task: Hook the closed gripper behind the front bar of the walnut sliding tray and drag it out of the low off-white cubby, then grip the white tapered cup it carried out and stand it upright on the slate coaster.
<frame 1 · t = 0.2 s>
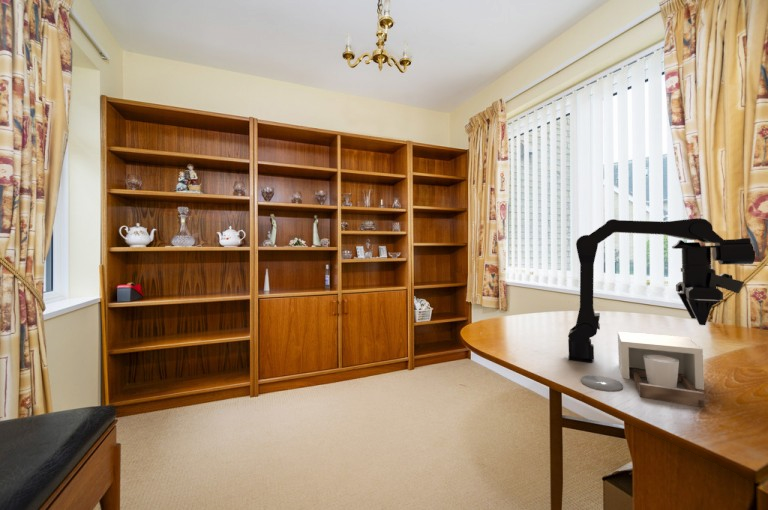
hand: (698, 321, 87), 14 cm above the table, tool pointing down, fingers open, 9 cm apart
cubby: (656, 375, 87), on the table
coaster: (601, 384, 83), on the table
white tapered cup: (661, 385, 81), resting in tray
tray: (663, 382, 79), point 2 cm above the table, slide at 6.0 cm
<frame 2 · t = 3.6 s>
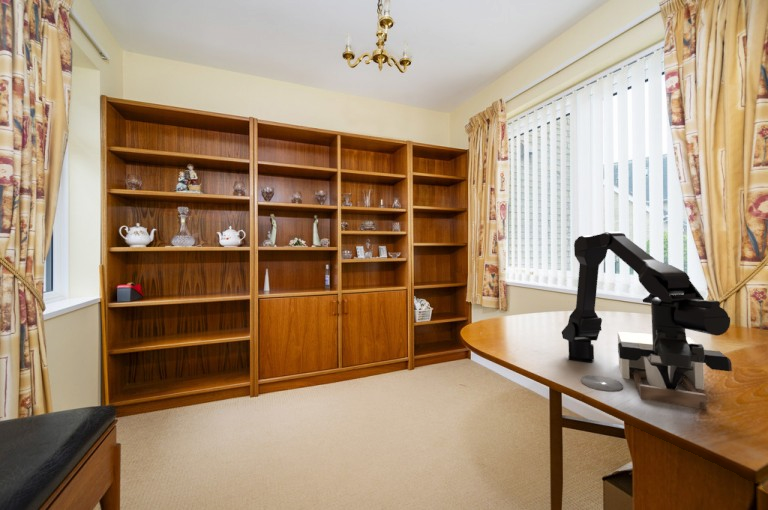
hand: (670, 392, 73), 2 cm above the table, tool pointing down, fingers closed, pressing on tray
tray: (664, 384, 78), point 2 cm above the table, slide at 7.0 cm, touching gripper
everything else where it was.
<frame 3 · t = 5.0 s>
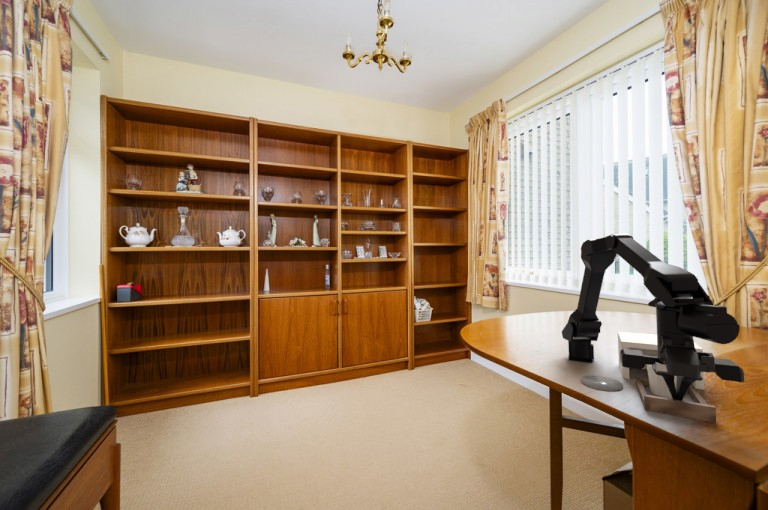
hand: (676, 403, 68), 2 cm above the table, tool pointing down, fingers closed, pressing on tray
white tapered cup: (665, 394, 77), resting in tray
tray: (670, 394, 73), point 2 cm above the table, slide at 13.2 cm, touching gripper, white tapered cup
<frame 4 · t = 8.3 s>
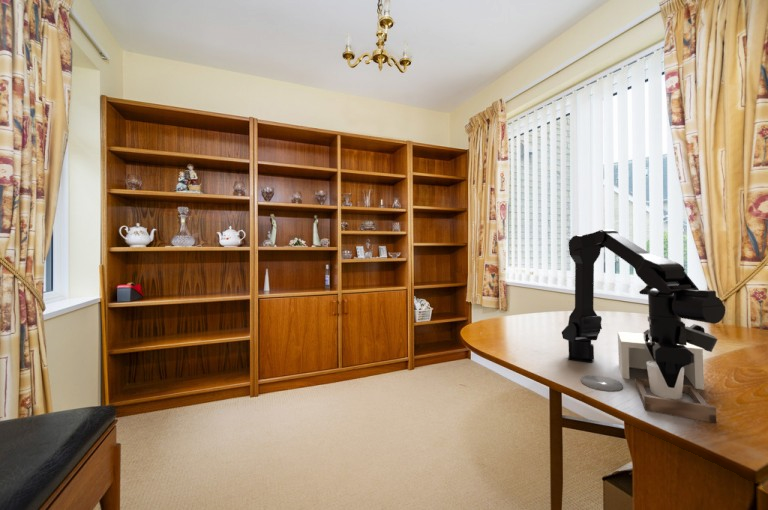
hand: (666, 380, 76), 4 cm above the table, tool pointing down, fingers open, 8 cm apart
white tapered cup: (665, 394, 76), resting in tray
tray: (670, 394, 73), point 2 cm above the table, slide at 13.3 cm
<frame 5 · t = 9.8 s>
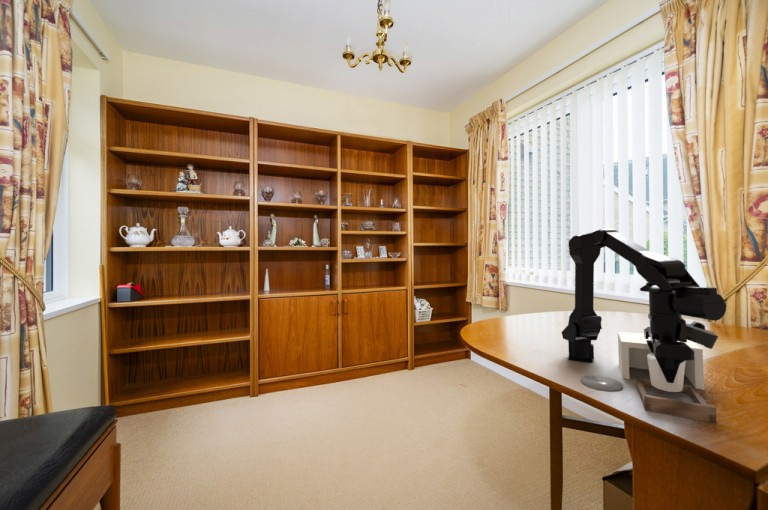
hand: (667, 377, 76), 4 cm above the table, tool pointing down, fingers closed on white tapered cup, 6 cm apart
white tapered cup: (666, 387, 76), point 2 cm above the table, touching gripper
everything else where it was.
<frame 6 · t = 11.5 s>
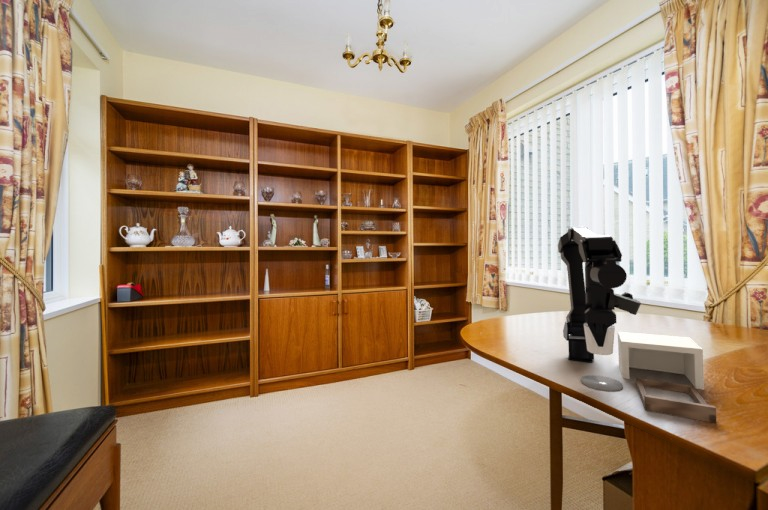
hand: (600, 343, 83), 11 cm above the table, tool pointing down, fingers closed on white tapered cup, 6 cm apart
white tapered cup: (599, 351, 84), point 8 cm above the table, touching gripper
everything else where it was.
when the fingers open (4 cm above the table, at t = 13.1 s): white tapered cup drops 1 cm, resting on coaster.
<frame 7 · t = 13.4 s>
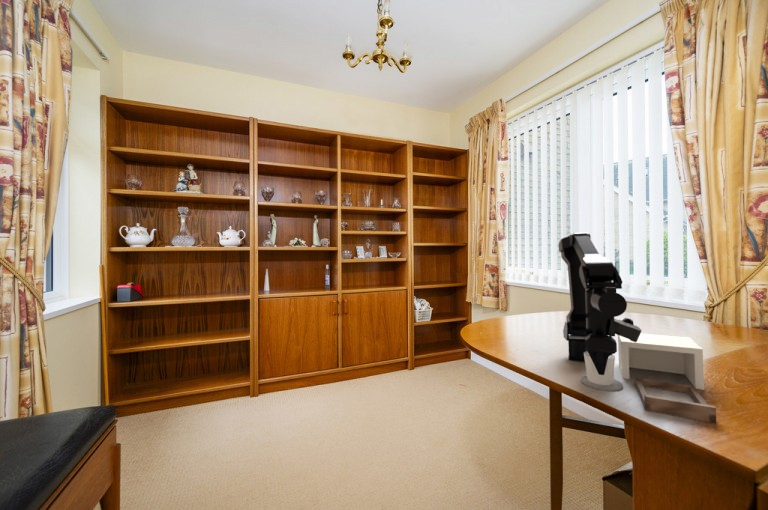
hand: (600, 368, 83), 4 cm above the table, tool pointing down, fingers open, 9 cm apart
white tapered cup: (599, 381, 84), resting on coaster
everything else where it was.
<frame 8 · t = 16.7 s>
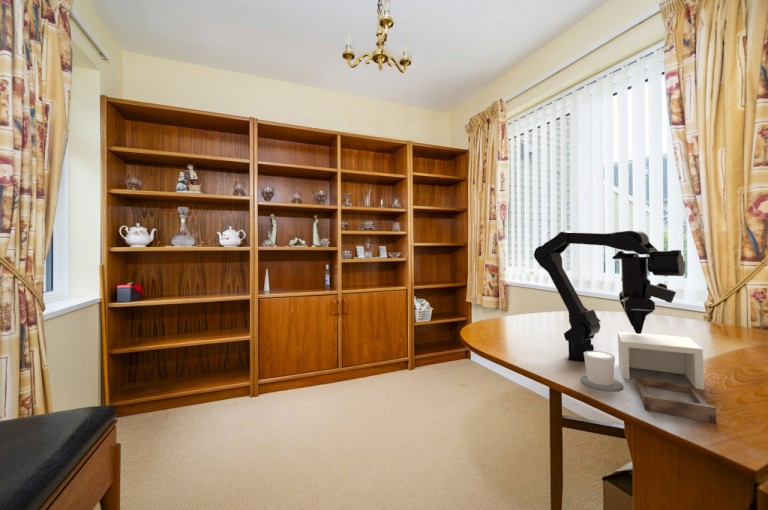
hand: (636, 329, 90), 12 cm above the table, tool pointing down, fingers open, 9 cm apart
nothing on the table moved.
at the end: tray slide at 13.3 cm; white tapered cup 0.6 cm from the coaster (horizontally); white tapered cup tilted 0° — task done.
